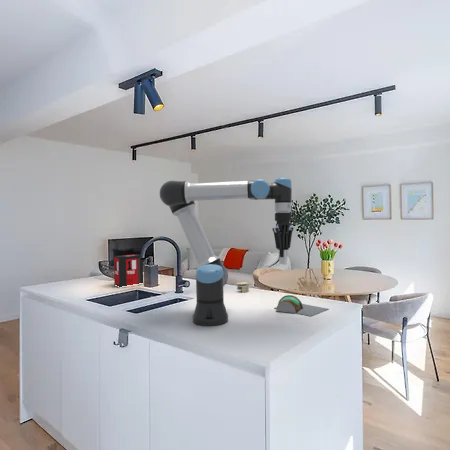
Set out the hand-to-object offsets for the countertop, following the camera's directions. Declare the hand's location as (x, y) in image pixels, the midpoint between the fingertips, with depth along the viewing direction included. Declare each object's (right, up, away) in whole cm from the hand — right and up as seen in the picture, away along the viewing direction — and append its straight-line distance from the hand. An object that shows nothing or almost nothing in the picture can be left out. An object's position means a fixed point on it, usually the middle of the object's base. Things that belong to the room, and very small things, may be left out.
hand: (283, 264), depth 161 cm
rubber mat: (+10, -22, +7) cm, 25 cm away
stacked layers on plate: (-16, -22, +49) cm, 56 cm away
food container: (+1, -19, +1) cm, 19 cm away
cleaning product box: (-91, -23, +75) cm, 120 cm away
